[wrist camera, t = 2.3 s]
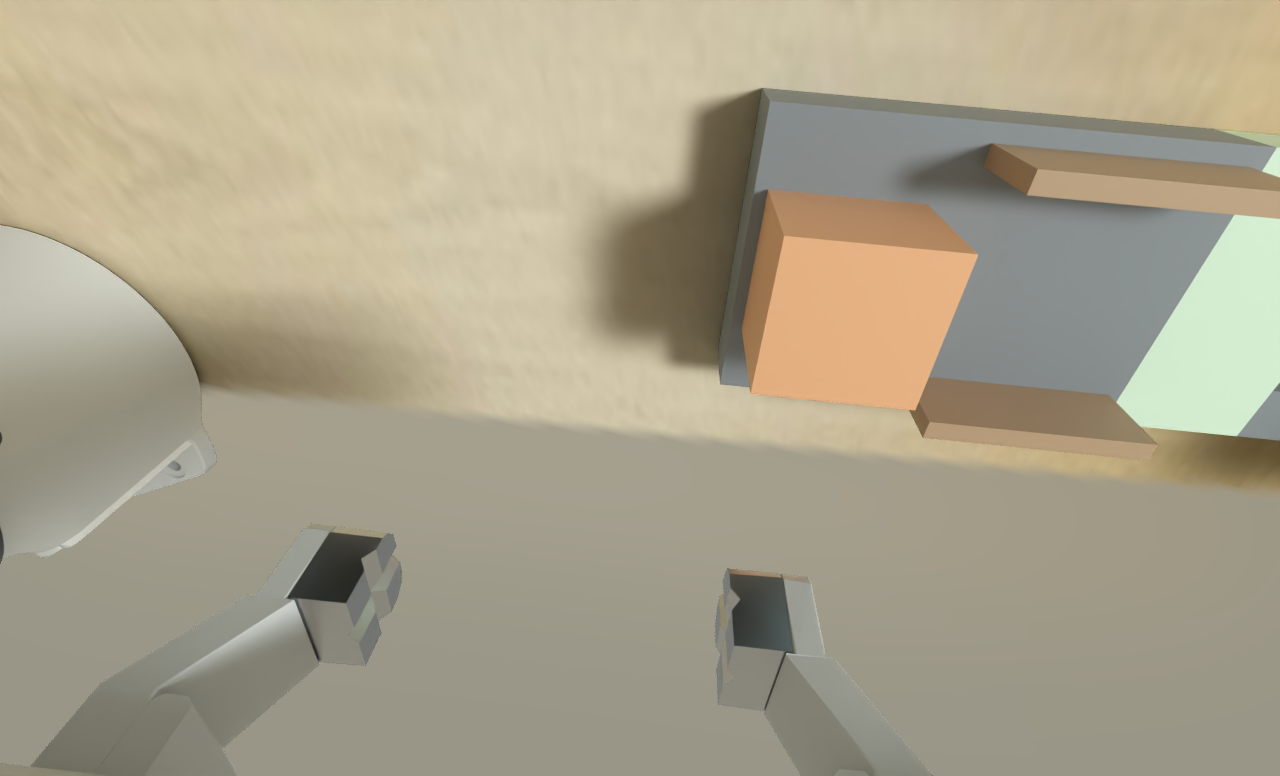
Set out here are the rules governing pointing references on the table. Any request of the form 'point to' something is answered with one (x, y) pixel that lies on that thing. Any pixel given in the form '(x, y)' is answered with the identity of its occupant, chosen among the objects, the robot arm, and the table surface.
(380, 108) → the table surface
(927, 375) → the block
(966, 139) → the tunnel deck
